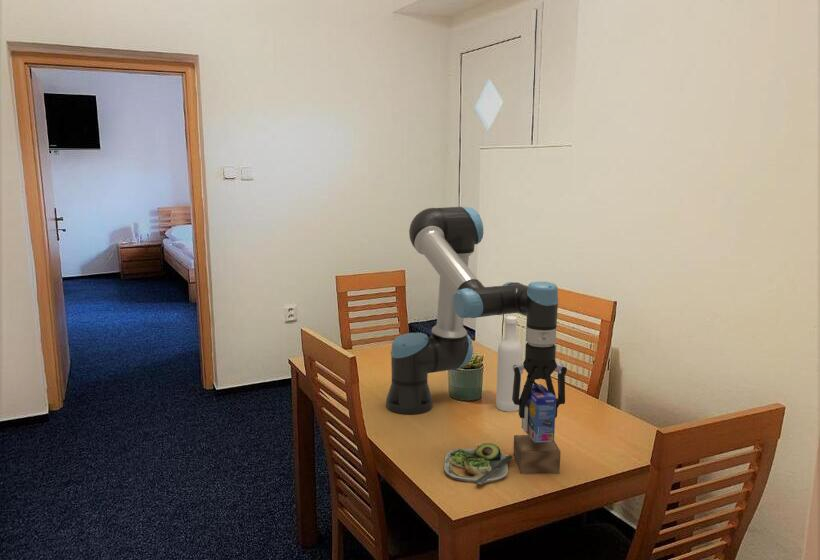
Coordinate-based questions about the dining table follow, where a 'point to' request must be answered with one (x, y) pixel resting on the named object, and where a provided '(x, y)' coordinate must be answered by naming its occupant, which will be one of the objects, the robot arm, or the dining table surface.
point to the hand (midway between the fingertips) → (537, 429)
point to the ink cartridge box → (541, 414)
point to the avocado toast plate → (478, 463)
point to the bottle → (508, 366)
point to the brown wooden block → (536, 456)
